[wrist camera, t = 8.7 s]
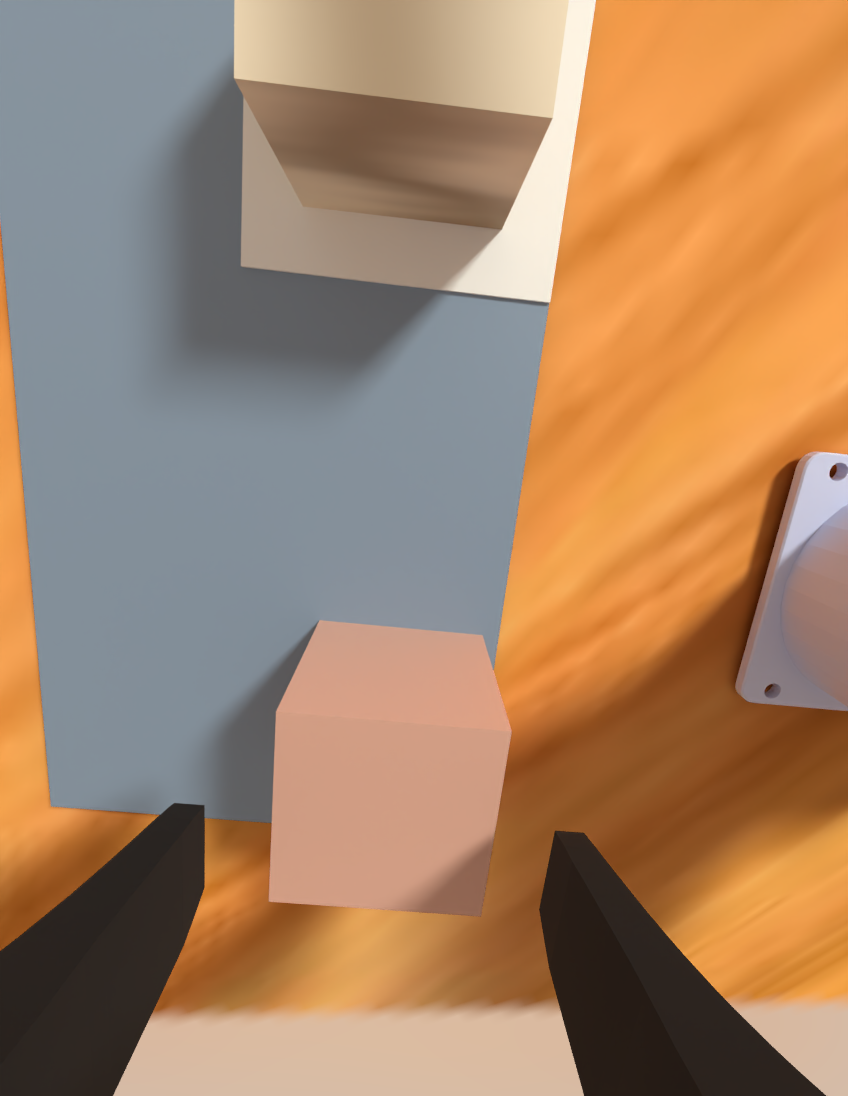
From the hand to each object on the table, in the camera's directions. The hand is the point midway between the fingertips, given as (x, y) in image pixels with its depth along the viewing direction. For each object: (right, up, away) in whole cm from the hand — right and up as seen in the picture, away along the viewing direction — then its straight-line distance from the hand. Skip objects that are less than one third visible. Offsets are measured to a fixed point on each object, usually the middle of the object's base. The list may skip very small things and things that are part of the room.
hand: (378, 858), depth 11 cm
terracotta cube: (0, +2, +6) cm, 6 cm away
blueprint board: (-3, +12, +4) cm, 13 cm away
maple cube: (+1, +17, +2) cm, 17 cm away
